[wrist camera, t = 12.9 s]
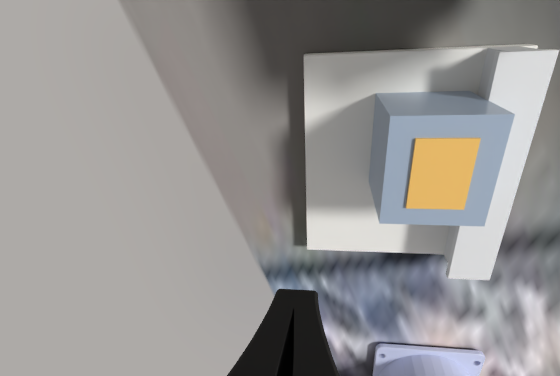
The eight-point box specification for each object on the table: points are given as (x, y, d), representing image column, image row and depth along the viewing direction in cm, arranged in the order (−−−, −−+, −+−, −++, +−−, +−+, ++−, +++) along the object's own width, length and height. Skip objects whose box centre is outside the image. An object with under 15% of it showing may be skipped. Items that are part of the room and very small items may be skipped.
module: (450, 182, 19) (485, 228, 15) (368, 181, 19) (379, 224, 15) (469, 90, 16) (516, 115, 12) (375, 93, 17) (390, 116, 13)
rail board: (474, 245, 21) (496, 280, 19) (308, 240, 23) (305, 271, 20) (526, 44, 16) (569, 49, 13) (304, 53, 17) (300, 60, 15)
